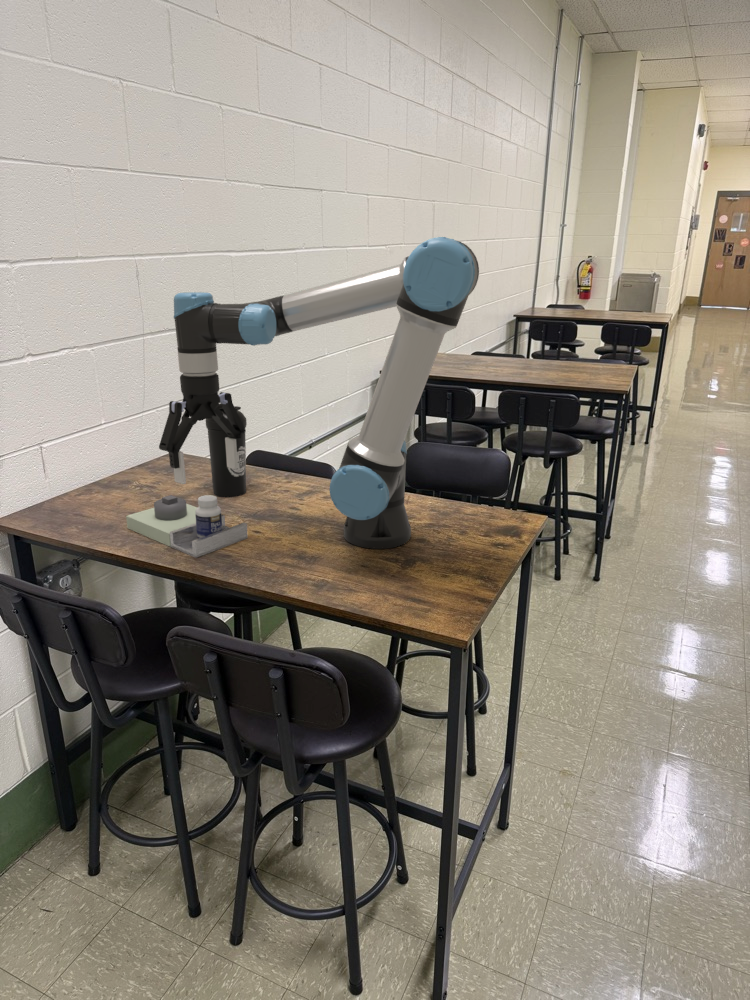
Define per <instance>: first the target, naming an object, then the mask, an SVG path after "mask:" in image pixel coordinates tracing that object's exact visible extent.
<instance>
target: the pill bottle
mask: <svg viewBox="0 0 750 1000" xmlns="http://www.w3.org/2000/svg"><path fill="white" fill-rule="evenodd" d="M197 505H198V506H197V509H196V511H195V514H196V529H197V539H199V538H202V537H205V536H207V535H210V534H213V533H216V532H219V531H221V530H222V517H221V515H222V509H221V507H220V506H219V505H218V496H216V495H209V494H205V495H201V496H199V497H198V498H197Z"/></svg>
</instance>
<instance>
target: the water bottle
mask: <svg viewBox="0 0 750 1000" xmlns="http://www.w3.org/2000/svg"><path fill="white" fill-rule="evenodd" d="M234 407H235V409H236V411H237V413H238V415H239V417H240V419H241V421H242V423H243V425H244V427H245V429H246V428H247V417H245V414H244V413H243V412H241V409H242V407H241V406H239V405H238V406H234ZM218 408H219V409H220V411H221V412H222V413H223V416H224V417H225V418H226V419H227V420H228V421H229V419H228V418H227V416H226V414H225V412H224V410H223V408H222V406H221V403H219V405H218ZM229 422H230V421H229ZM230 424H231V423H230ZM205 427H206V429H207V437H208V448H209V458H210V459H209V460H210V461H209V462H210V467H211V468H210V471H211V472H210V473H211V480H212V491H213V496H216V497H220V498H236V497H240V496H244V495H245V494H246V493H247V466H246V465H247V460H246V459H247V447H246V432H245V433H244V434H242V437H241V438H240V439H238V443H239V451H238V452H237V461H238V468H237V469H233V468H229V467H227V458H226V444H225V438H226V437H229V436H228V435H227V434H226V433H225V431H224V430H223V429H222V428H221V427H220V426H219V425H218V424H217V423H216V421H215V420H214V419H213V418H211V419H205ZM229 438H230V437H229Z"/></svg>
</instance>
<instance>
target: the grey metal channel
mask: <svg viewBox="0 0 750 1000" xmlns="http://www.w3.org/2000/svg"><path fill="white" fill-rule="evenodd" d="M221 517H222V530H221V531H219V532H216V533H213V534H210V535H207V536H205V537H202V538H199V539H197V529H196V523H195V524H192V525H189V526H186V527H183V528H180V529H177V530H174V531H171V532H170V541H171V547H170V548H172V549H174V550H177V551H179V552H181V553H183V554H186V555H188V556H190V557H193V558H196V559H197V558H199V557H202V556H205V555H208V554H210V553H212V552H215V551H218V550H221V549H223V548H226V547H228V546H231V545H234V544H236V543H238V542H241V541H244V540H247V539H248V538H249V536H248V523H246V522H242V523H239V524H236V525H233V526H227V525H226V516H225V515H224V514H221Z"/></svg>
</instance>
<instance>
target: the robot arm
mask: <svg viewBox="0 0 750 1000" xmlns="http://www.w3.org/2000/svg"><path fill="white" fill-rule="evenodd" d="M479 277H480V267H479V261H478V259H477V257H476V254H475V253H474V251H473V250H472V249H471V248H470V247H469V246H468V245H467V244H466V243H464V242H462V241H459V240H455V239H454V238H448V237H445V236H444V237H443V236H438V237H437V236H436V237H433V238H432V237H431V238H429V239H427V240H425V241H423V242H421V243H420V244H418V245H417V247H415V248H414V249H413V250H412V252H411V253H410V254H409V256H405V257H404V258H403V260H402V262H401V263H400V264H396V265H393V266H389V267H384V268H381V269H378V270H373V271H371V272H367V273H363V274H358V275H354V276H351V277H348V278H344V279H340V280H337V281H333V282H329V283H325V284H321V285H316V286H313V287H309V288H307V289H303V290H299V291H294V292H290V293H288V294H287V293H286V294H284V295H280V296H275V297H272V298H267V299H263V300H259V301H253V302H252V301H251V302H245V303H216V302H215V301H214V298H213V297H214V296H213V295H212V293H210V292H204V291H203V292H202V291H201V292H200V291H199V292H198V291H197V292H196V291H192V292H191V291H190V292H189V291H188V292H187V291H186V292H178V293H176V294H175V295H174V296H173V319H174V325H175V334H176V335H175V336H176V345H177V359H178V367H179V369H178V370H179V372H180V373H181V374H180V376H179V381H180V391H181V394H182V401H174V400H171V401H169V403H168V405H169V406H168V415H167V419H166V422H165V424H164V425H165V426H164V428H163V432H162V435H161V438H160V440H159V441H160V442H159V446H158V449H159V450H160V451H164V452H168V458H169V466H170V468H172V469H173V477H174V482H175V483H178V484H181V485H184V484H187V479H186V468H185V467H186V466H185V458H184V457H185V456H184V451H181V449H182V447H183V445H184V443H185V441H186V440H187V437H188V436H189V434H190V432H191V430H192V428H193V426H195V425H196V424H197V423H198V421H199V422H201V421H203V420H206V419H211V418H213V419H214V420H215V421H216V423H217V424H218V425H219V426H220V427H221V428H222V429H223V430H224V431H225V433H226V434H227V435H228V436H229V437H230V438H229V437H226V438H225V444H226V458H227V467H229V468H233V469H237V468H238V461H237V452H238V451H239V443H238V439H240V438H241V437H242V434H244V433H245V434H246V428H245V427H244V425H243V423H242V421H241V419H240V417H239V415H238V413H237V411H236V409H235V407H234V404H233V403H234V402H233V399H232V398H233V397H232V394H231V393H230V392H224V391H223V392H222V391H220V378H219V374H218V373H217V371H218V370H219V363H218V361H219V360H218V353H217V352H218V351H217V350H218V349H217V344H219V345H220V344H229V345H230V344H231V345H232V344H233V345H250V346H254V347H255V346H257V345H270V344H272V342H273V341H274V338H275V337H279V336H280V335H281V336H282V335H286V334H289V333H293V332H297V331H301V330H306V329H310V328H313V327H317V326H321V325H326V324H329V323H334V322H338V321H343V320H345V319H350V318H354V317H358V316H363V315H367V314H371V313H375V312H378V311H382V310H387V309H391V308H396V310H397V311H398V313H399V316H400V318H399V321H398V323H397V326H396V330H395V332H394V334H393V338H392V340H391V343H390V345H389V349H388V352H387V355H386V358H385V361H384V363H383V366H382V369H381V372H380V375H379V376H378V381H377V383H376V386H375V389H374V392H373V394H372V397H371V400H370V403H369V406H368V409H367V412H366V415H365V417H364V421H363V423H362V426H361V428H360V431H359V434H358V435H356V436H354V437H352V438H350V439H349V441H348V443H347V446H346V448H345V451H344V453H343V456H342V459H341V463H340V465H339V468H338V469H337V470H336V471H335V472H334V473H333V475H332V477H331V480H330V483H329V490H328V491H329V497H330V498H331V499H330V500H331V501H332V503H333V505H334V506H335V508H336V509H337V510H338V512H340V513H341V514H343V515H344V516H346V519H345V523H344V525H343V538H344V539H345V541H346V542H348V543H350V544H352V545H354V546H357V547H361V548H364V549H375V550H376V549H377V550H378V549H379V550H384V549H392V548H396V547H397V546H398V547H400V545H401V546H402V544H403V545H405V544H406V542H407V541H408V540H409V539H410V540H411V538H410V537H412V527H411V524H410V521H409V517H408V513H407V508H406V506H405V493H406V492H405V491H406V489H405V488H406V464H407V454H408V451H407V442H406V441H405V439H406V437H407V435H408V432H409V429H410V426H411V423H412V421H413V418H414V417H415V414H416V410H417V408H418V405H419V402H420V400H421V397H422V395H423V393H424V390H425V387H426V384H427V382H428V379H429V378H430V377H429V376H430V374H431V371H432V369H433V367H434V363H435V362H436V361H435V360H436V358H437V355H438V352H439V350H440V347H441V345H442V343H443V339H444V337H445V335H446V334H447V333H448V332H450V331H451V330H454V329H457V326H458V323H459V322H460V319H461V316H462V313H463V311H464V309H465V306H466V303H467V301H468V298H469V296H470V295H471V294H472V292H474V290H475V288H476V287H477V284H478V280H479ZM219 391H220V392H219ZM219 404H221V406H222V408H223V410H224V412H225V414H226V416H227V418H228V419H229V421H230V422H229V421H228V420H227V419H226V418H225V417H224V416H223V413H222V412H221V411H220V409H219V408H218V405H219ZM230 423H231V424H230ZM410 540H409V541H410ZM409 541H408V542H409ZM408 542H407V543H408ZM404 543H405V544H404ZM398 547H397V548H398Z"/></svg>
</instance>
